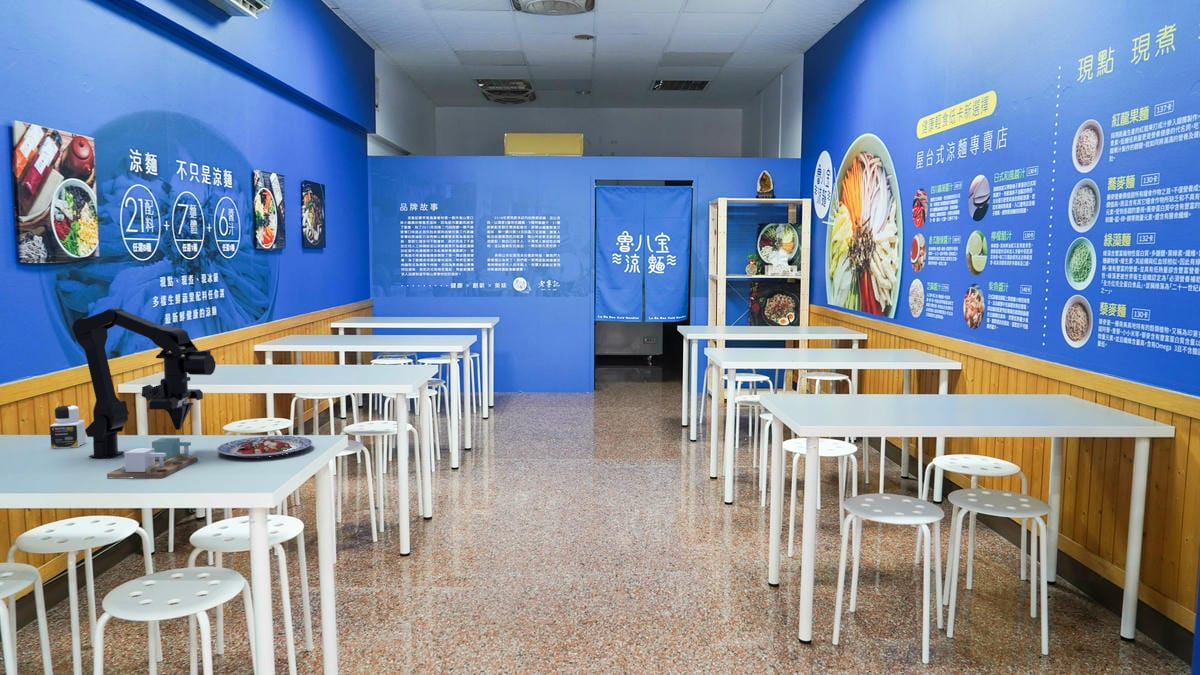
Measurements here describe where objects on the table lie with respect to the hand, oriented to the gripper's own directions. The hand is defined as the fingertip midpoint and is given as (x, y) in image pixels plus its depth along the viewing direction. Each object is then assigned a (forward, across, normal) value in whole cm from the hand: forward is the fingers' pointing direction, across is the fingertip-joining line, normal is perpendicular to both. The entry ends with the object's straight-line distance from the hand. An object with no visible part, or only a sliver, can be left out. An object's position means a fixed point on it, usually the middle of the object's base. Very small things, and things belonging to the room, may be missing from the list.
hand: (178, 429), depth 239 cm
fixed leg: (+6, +20, +2) cm, 21 cm away
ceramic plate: (+8, -8, +21) cm, 24 cm away
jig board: (+8, +14, 0) cm, 16 cm away
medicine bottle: (+8, -15, -41) cm, 44 cm away
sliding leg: (+6, +7, +2) cm, 10 cm away
